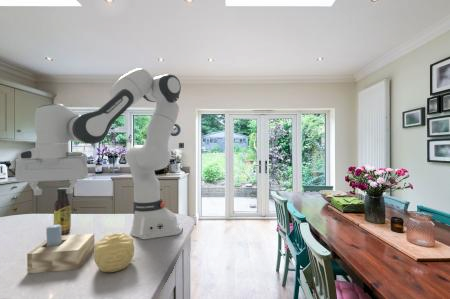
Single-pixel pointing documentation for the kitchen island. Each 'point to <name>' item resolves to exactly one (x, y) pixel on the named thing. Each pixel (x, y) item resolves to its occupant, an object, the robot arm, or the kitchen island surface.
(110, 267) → the pale yellow rounded lump
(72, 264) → the bore block
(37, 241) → the kitchen island surface
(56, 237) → the pin
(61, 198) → the sauce bottle
